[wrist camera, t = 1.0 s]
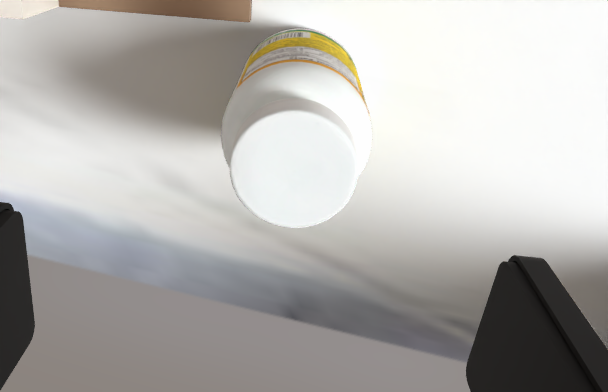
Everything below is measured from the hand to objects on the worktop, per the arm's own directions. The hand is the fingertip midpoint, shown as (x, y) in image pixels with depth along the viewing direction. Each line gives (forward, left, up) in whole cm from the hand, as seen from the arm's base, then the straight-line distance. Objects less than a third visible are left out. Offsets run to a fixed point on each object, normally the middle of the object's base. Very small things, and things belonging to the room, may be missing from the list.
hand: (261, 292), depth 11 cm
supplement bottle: (-1, +1, -18) cm, 18 cm away
